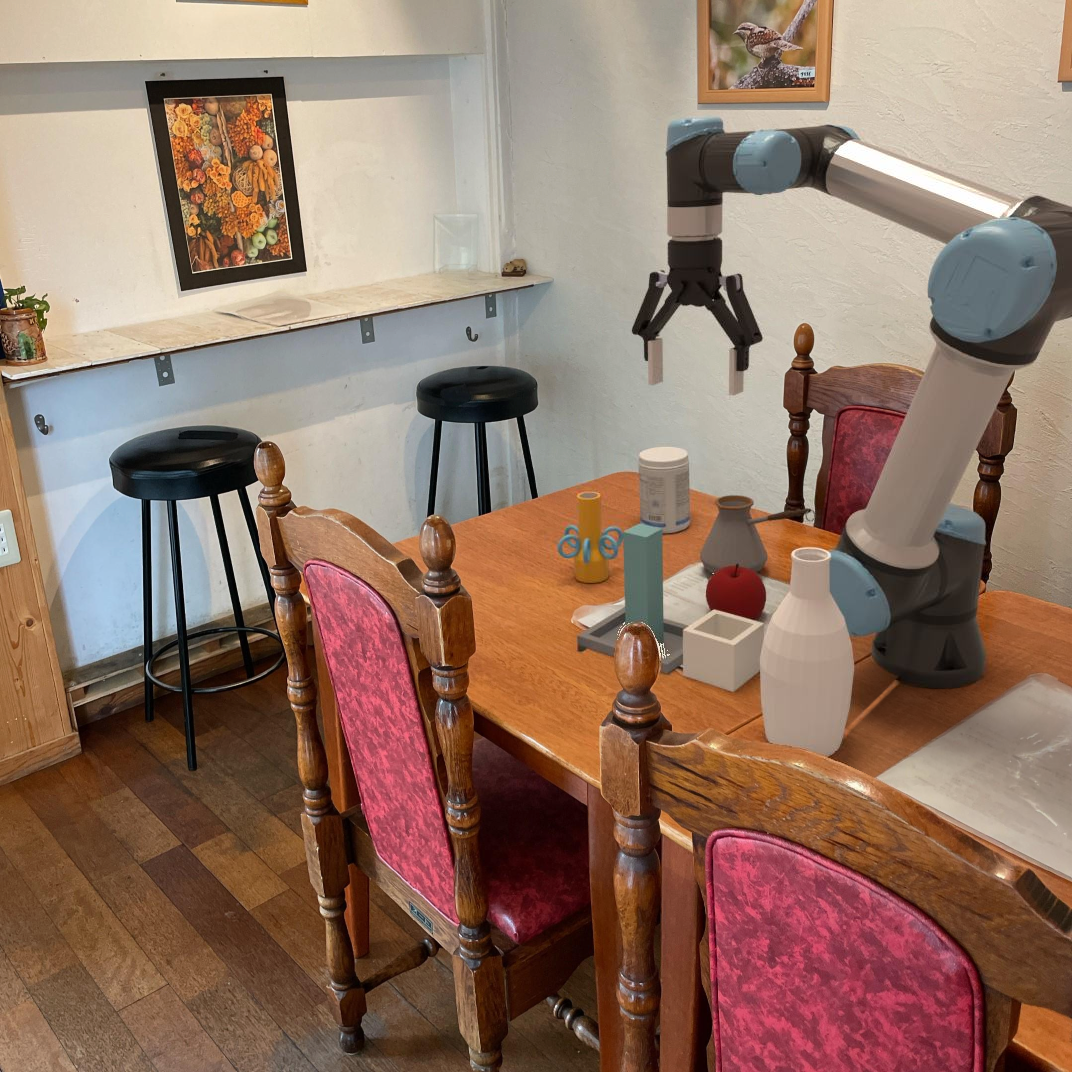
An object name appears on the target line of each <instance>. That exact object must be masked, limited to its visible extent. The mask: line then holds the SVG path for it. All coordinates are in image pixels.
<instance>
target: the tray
mask: <svg viewBox="0 0 1072 1072" xmlns="http://www.w3.org/2000/svg"><path fill="white" fill-rule="evenodd" d="M624 622H625V606H624V607H622V608H620V609H618V610H617V611H615V612H613V613H612V614H610V615H608V616H607V617H605V618H604V619H602V620H600V621H599V622H597V623H596V624H594V625H592V626H590V627H589V628H587V629H586V630H583V631H582V632H580V633H579V634H577V635H576V641H577V643H576V644H577V651H579V652H580V653H581V652H583V653H584V651H586V650H587V649H589V650H592V651H595V652H599V653H601V654H605V655H608V656H610V657H612V658H615V657H614V653H615V647H616V642H617V639H618V637H619V634H620V631H621V629H622V628H623V627H624V626H625V624H624V625H623V623H624ZM621 626H622V627H621ZM663 626H664V642H662V643H661V644H663V643H664V648H665V655H666V658H665V656H664V655H663V656H664V659H663V658H662V652H661V647H660V653H661V670H660V672H659V673H662V674H664V675H669V674H670V673H671V672H673V671H674V670H675V669H677V668H678V667H680V666H681V665H683V630H684V629H685V628H687V627H688V626H689V625H687V624H684V623H680V622H677V621H673V620H671V619H667V618H664V617H663ZM620 627H621V628H620ZM619 629H620V630H619ZM618 631H619V633H618ZM617 634H618V635H617ZM659 646H660V644H659ZM664 648H663V645H662V650H663V654H664ZM667 650H668V651H667ZM667 654H670V655H669V656H667Z"/></svg>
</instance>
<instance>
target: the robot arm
mask: <svg viewBox="0 0 1072 1072" xmlns="http://www.w3.org/2000/svg"><path fill="white" fill-rule="evenodd" d="M666 132H667V133H666V134H667V135H666V150H665V152H664V153H665V156H666V193H667V195H666V196H667V197H666V198H667V201H666V203H667V206H666V209H667V210H666V215H667V216H666V217H667V218H666V219H667V221H666V224H667V226H666V227H667V228H666V233H667V234H666V235H667V236H668V237H671V239H670V240H668V242H667V265H668V266H669V272H666V271H665V270H664V269H660V270H655V271H652V272H650V274H649V277H648V288H647V290H646V293H645V296H644V298H643V300H642V302H641V306H640V307H639V311H638V313H637V315H636V318H635V320H634V323H633V326H632V327H631V333H632V334H633V335H635V336H639V337H640V338H642V339H643V359H644V361H645V362H647V363H648V364H647V365H648V369H647V370H648V371H647V372H648V375H647V376H648V386H654V385H655V386H656V385H657V384H660V383H663V382H664V364H663V361H664V358H663V352H664V351H663V343H664V342H663V338H661V337H660V333H661V332H662V330H663V329H664V327H665V326H666V325H667V323H668V322H669V321H670V319H671V318H672V317H673V315H674V314H675V313H676V311H677V310H679V307H680V306H683V307H687V306H688V307H689V306H694V307H697V308H699V307H700V308H701V307H705V308H706V310H707V311H709V312H710V313H711V314H712V315H713V317H714V318H715V320H716V321H717V322H718V324H719V326H720V327H721V328H722V330H723V331H724V333H725V334H726V336H727V337H728V339H729V340H730V341H731V343H732V344H733V346H734V347H731V348H729V349H728V351H729V358H728V359H729V363H728V364H729V365H728V367H729V368H728V369H729V371H728V372H729V374H728V375H729V376H728V377H729V378H728V395H729V396H736V395H738V394H741V393H743V392H744V380H745V379H744V375H745V374H744V373H745V371H748V370H749V367H750V347H751V346H753V345H756V344H758V343H761V342H763V339H764V337H763V333H762V332H761V330H760V327H759V325H758V322H757V319H756V318H755V315H754V313H753V310H752V307H751V306H750V303H749V299H748V298H747V295H746V293H745V291H744V283H743V275H742V274H741V273H734V274H731V275H723V273H722V269H721V268H722V264H723V239H722V238H721V237H719V235H721V234H722V233H723V203H724V197H723V196H724V194H723V193H731V194H753V195H756V196H763V195H771V194H779V193H783V192H785V191H787V190H791V189H802V188H811V189H814V190H817V191H819V192H822V193H824V194H826V195H829V196H831V197H834V198H836V199H838V200H842V201H843V202H846V203H848V204H851V205H853V206H856V207H857V208H860V209H862V210H864V211H867V212H870V213H871V214H874V215H877V216H879V217H880V218H883V219H886V220H888V221H891V222H893V223H894V224H898V225H900V226H903V227H904V228H907V229H909V230H912V231H914V232H917V233H919V234H921V235H923V236H926V237H929V238H931V239H933V240H935V241H938V242H940V243H942V244H945V245H944V247H943V248H942V249H941V251H940V252H939V254H938V255H937V257H936V259H935V260H934V262H933V265H932V266H931V270H930V273H929V277H928V283H927V298H928V299H930V302H931V305H930V307H929V309H930V311H931V315H932V317H931V319H930V322H929V325H928V329H929V332H930V334H931V336H932V338H933V340H934V342H935V343H936V345H935V347H934V349H933V352H932V354H931V357H930V359H929V361H928V362H927V363H928V364H927V366H926V368H925V370H924V372H923V373H924V374H923V375H922V377H921V379H920V382H919V384H918V387H917V389H916V392H915V394H914V395H913V398H912V399H911V400H912V401H911V403H910V404H909V405H910V406H909V408H908V411H907V412H906V414H905V417H904V419H903V421H902V423H901V427H899V428H900V429H899V430H898V434H897V435H896V438H895V440H894V443H893V445H892V447H891V450H890V452H889V454H888V457H887V458H886V461H885V464H884V465H883V468H882V470H881V472H880V475H879V477H878V479H877V482H876V484H875V487H874V489H873V491H872V493H871V496H870V498H869V501H868V503H867V506H866V508H864V509H859V510H857V511H855V512H853V513H852V514H851V515H850V516H849V518H848V519H847V520H846V523H845V526H844V528H843V529H842V533H841V535H840V537H839V540H838V542H837V544H836V546H834V548H833V549H829V550H827V551H828V552H829V553H830V554H831V560H830V562H829V571H830V594H831V595H832V597H833V599H834V601H835V602H836V604H837V606H838V608H839V609H840V611H841V613H842V615H843V617H844V619H845V622H846V626H847V629H848V633H849V636H851V637H859V638H860V637H867V636H870V635H873V634H874V637H873V639H872V641H871V648H870V651H871V652H870V653H871V657H872V659H873V660H874V662H875V663H876V664H877V665H878V666H879V667H880V668H882V669H883V670H885V671H887V672H889V673H891V674H893V675H895V676H897V677H896V678H895V679H894V680H895V681H898V682H900V683H903V684H907V685H912V686H916V687H921V688H929V689H930V688H931V689H950V688H957V687H958V688H959V687H963V686H967V685H971V684H972V683H975V682H976V681H979V679H981V677H982V676H983V675H984V674H985V671H986V661H987V653H986V647H985V643H984V641H983V640H984V639H983V637H982V633H981V629H980V625H979V622H978V618H977V617H978V605H979V598H980V591H981V590H980V589H981V588H980V587H981V581H982V580H981V579H982V573H983V562H984V554H985V547H986V545H987V541H986V522H985V520H984V519H983V517H982V516H980V514H978V513H977V512H976V511H973V510H971V509H968V508H967V507H962V506H958V505H954V504H950V503H951V500H952V498H953V496H954V495H955V492H956V490H957V489H958V487H959V484H960V482H961V481H962V479H963V476H964V474H965V473H966V470H967V468H968V466H969V463H970V462H971V459H972V458H973V456H974V453H975V452H976V449H977V448H978V445H979V444H980V441H981V440H982V437H983V435H984V433H985V432H986V429H987V427H988V425H989V423H990V421H991V418H992V417H993V415H994V413H995V411H996V409H997V407H998V404H999V403H1000V400H1001V398H1002V395H1003V394H1004V392H1005V389H1006V388H1007V385H1008V383H1009V382H1010V379H1011V378H1012V376H1013V374H1014V372H1015V371H1017V370H1020V369H1024V368H1027V367H1029V366H1031V365H1033V364H1034V363H1035V362H1036V360H1037V359H1038V356H1039V354H1040V352H1041V350H1042V348H1043V346H1044V344H1045V342H1046V340H1047V338H1048V336H1049V335H1050V332H1051V331H1052V328H1053V326H1054V324H1055V323H1056V322H1060V321H1063V320H1066V319H1069V318H1072V205H1071V206H1070V205H1067V204H1065V203H1062V202H1058V201H1055V200H1053V199H1049V198H1046V197H1044V196H1041V195H1037V194H1031V195H1029V196H1026V197H1024V198H1022V199H1021V198H1018V197H1015V196H1012V195H1010V194H1007V193H1005V192H1001V191H999V190H996V189H994V188H991V187H989V186H985V185H982V184H980V183H977V182H975V181H971V180H968V179H966V178H964V177H961V176H958V175H955V174H952V173H950V172H947V171H944V170H941V169H940V168H937V167H933V166H931V165H928V164H925V163H922V162H920V161H917V160H914V159H912V158H909V157H906V156H904V155H901V154H898V153H895V152H893V151H890V150H888V149H884V148H882V147H879V146H876V145H873V144H871V143H868V142H865V141H862V140H861V138H860V137H859V136H858V134H857V133H856V132H855V130H854V129H852V128H850V127H848V126H846V125H845V126H844V125H836V124H835V125H834V124H821V125H817V126H815V125H814V126H805V127H796V128H795V127H794V128H793V127H792V128H780V129H779V128H777V129H760V130H759V129H758V130H749V131H747V130H745V131H735V132H725V130H724V121H723V119H722V118H721V117H719V116H710V117H709V116H708V117H691V118H690V117H689V118H675V119H673V120H672V121H671V122H670V123H669V124H668V126H667V131H666ZM666 286H668V287H669V288H670V290H671V292H670V293H669V294H668V296H667V297H666V298H665V300H664V303H663V305H661V307H660V309H659V310H658V312H657V313H656V314H655V312H656V310H657V307H658V305H659V303H660V300H661V299H662V298H661V297H662V296H663V293H664V290H665V288H666ZM721 288H723V290H724V291H725V292H726V295H727V299H728V300H729V303H730V305H731V308H732V310H733V312H732V311H731V309H730V307H729V306H728V304H726V302H727V301H726V299H725V298H724V296H723V294H722V293H721V292H720V290H721ZM733 313H734V314H733ZM654 314H655V315H654ZM657 337H658V338H657Z"/></svg>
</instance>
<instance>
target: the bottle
mask: <svg viewBox="0 0 1072 1072" xmlns="http://www.w3.org/2000/svg"><path fill="white" fill-rule="evenodd" d="M790 554H791V555H790V556H791V557H790V558H791V560H792V563H791V572H790V583H789V591H788V592H787V594H786V595H785V597H784V598H783V600H782V601H781V602H780V604H779V605H778V607H777V608H776V610H775V611H774V613H773V614H772V616H771V618H770V621H769V623H768V627H767V629H766V631H765V633H764V640H763V645H762V650H761V655H760V671H759V673H760V675H759V677H760V680H759V681H760V702H761V704H760V705H761V711H762V719H763V725H764V731H765V738H766V740H767V741H768V743H769V744H770V743H773V744H779V745H787V746H792V747H798V748H802V749H806V750H809V751H812V752H815V753H818V754H821V755H824V756H827V758H829V757H831V756H832V755H834V754H835V753H836V752H837V751H838V750H839V749H840V747H841V745H842V742H843V737H844V734H845V731H846V730H845V729H846V725H847V722H848V721H847V720H848V717H849V712H850V709H851V708H850V707H851V701H852V700H851V699H852V691H853V682H854V674H855V673H854V672H855V662H854V653H853V652H854V651H853V643H852V640H851V637H850V635H849V633H848V629H847V626H846V622H845V619H844V617H843V615H842V613H841V611H840V609H839V608H838V606H837V604H836V602H835V601H834V599H833V597H832V595H831V594H830V571H829V562H830V560H831V554H830V553H829V552H828V550H825V549H824V548H820V547H814V546H811V547H809V546H806V547H805V546H804V547H800V548H796V549H794V550H792V552H791V553H790ZM835 751H836V752H835ZM830 755H831V756H830Z"/></svg>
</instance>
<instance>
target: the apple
mask: <svg viewBox="0 0 1072 1072" xmlns="http://www.w3.org/2000/svg"><path fill="white" fill-rule="evenodd" d="M705 598H706V604H707V606H708V608H709V610H710V612H711V611H712V610H718V611H722V612H725V613H729V614H733V615H736V616H740V617H743V618H747V619H751V620H754V621H757V619H759V617H760V616H761V615H762V614H763V611H764V609H765V607H766V602H767V591H766V586H765V583H764V581H763V579H762V578H761V577H760V575H759V573H758V572H754V571H752V570H750V569H748V568H745V567H739V565H738V564H736V566H734V565H733V566H727V567H724V568H722V569H720V570H718V571H717V572H716V573H715V574H714V575H713V574H712V575H711V576H710V578H709V579H708V581H707V584H706V589H705Z"/></svg>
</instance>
